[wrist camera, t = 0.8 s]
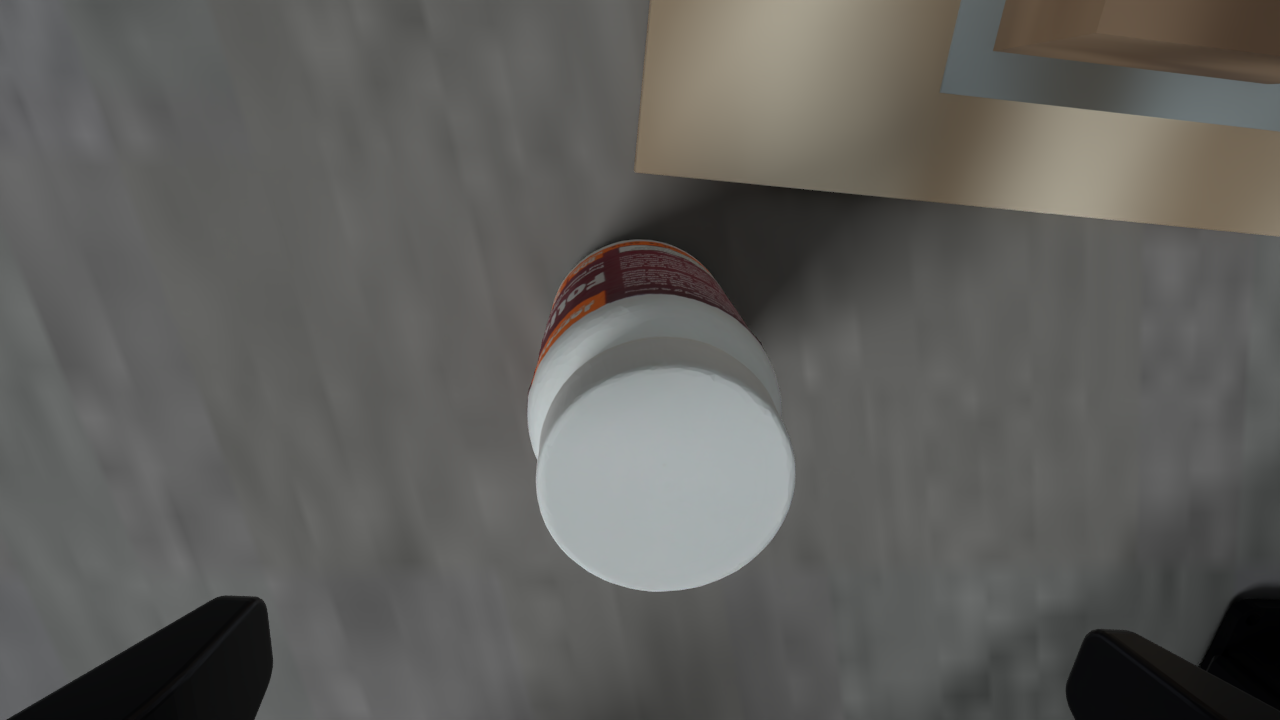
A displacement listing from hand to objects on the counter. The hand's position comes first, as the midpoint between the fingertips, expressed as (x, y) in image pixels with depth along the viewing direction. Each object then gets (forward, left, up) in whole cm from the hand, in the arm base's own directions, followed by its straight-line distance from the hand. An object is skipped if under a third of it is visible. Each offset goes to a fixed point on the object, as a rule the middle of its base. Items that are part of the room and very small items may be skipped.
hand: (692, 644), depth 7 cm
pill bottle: (0, 0, -12) cm, 12 cm away
